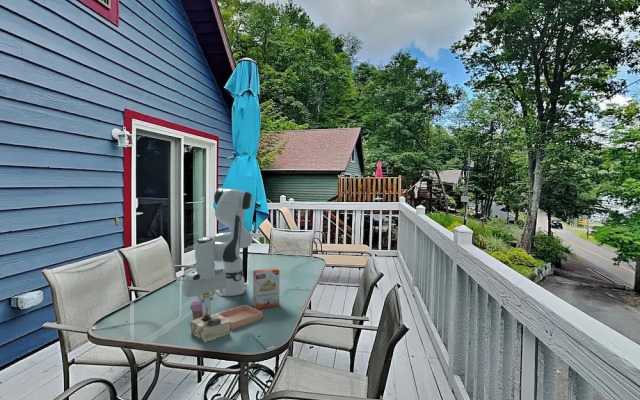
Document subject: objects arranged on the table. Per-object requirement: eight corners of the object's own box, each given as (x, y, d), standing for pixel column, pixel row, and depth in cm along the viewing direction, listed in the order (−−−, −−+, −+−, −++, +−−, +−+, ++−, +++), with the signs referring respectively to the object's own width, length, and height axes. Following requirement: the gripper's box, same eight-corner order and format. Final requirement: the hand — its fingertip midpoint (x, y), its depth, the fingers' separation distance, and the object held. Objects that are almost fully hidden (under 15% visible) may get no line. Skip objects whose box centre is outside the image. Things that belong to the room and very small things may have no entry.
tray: (215, 320, 169) (215, 313, 169) (245, 310, 182) (245, 304, 182) (232, 329, 158) (232, 322, 158) (263, 318, 171) (262, 312, 171)
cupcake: (200, 313, 179) (200, 295, 178) (212, 316, 174) (211, 297, 174) (186, 319, 171) (186, 300, 170) (198, 322, 167) (197, 303, 166)
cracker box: (256, 310, 183) (255, 272, 182) (253, 306, 188) (252, 270, 187) (280, 305, 189) (279, 269, 188) (276, 302, 195) (275, 267, 194)
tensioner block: (191, 333, 155) (190, 317, 155) (214, 325, 164) (214, 310, 163) (205, 343, 145) (205, 326, 145) (229, 334, 154) (229, 318, 153)
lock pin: (201, 320, 156) (200, 293, 156) (208, 318, 159) (207, 291, 158) (204, 322, 154) (204, 295, 153) (211, 320, 157) (211, 293, 156)
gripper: (222, 266, 165) (222, 294, 166) (181, 275, 150) (181, 305, 151) (228, 269, 160) (229, 297, 161) (187, 278, 146) (188, 309, 147)
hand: (206, 301), depth 156 cm, fingers closed on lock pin, 3 cm apart
